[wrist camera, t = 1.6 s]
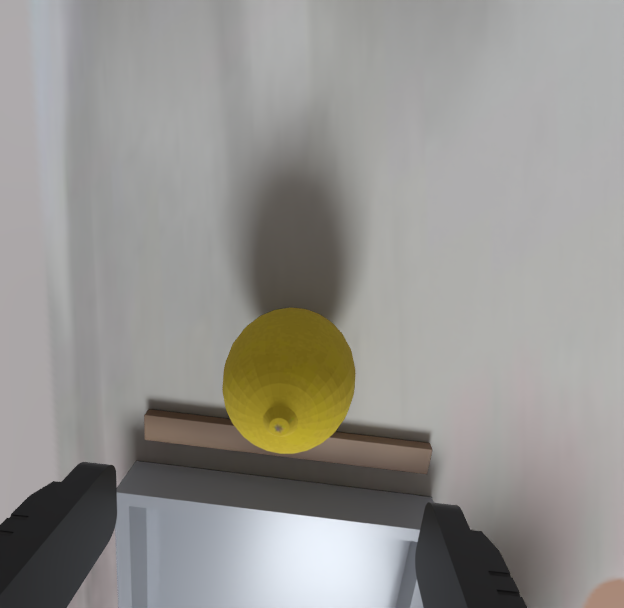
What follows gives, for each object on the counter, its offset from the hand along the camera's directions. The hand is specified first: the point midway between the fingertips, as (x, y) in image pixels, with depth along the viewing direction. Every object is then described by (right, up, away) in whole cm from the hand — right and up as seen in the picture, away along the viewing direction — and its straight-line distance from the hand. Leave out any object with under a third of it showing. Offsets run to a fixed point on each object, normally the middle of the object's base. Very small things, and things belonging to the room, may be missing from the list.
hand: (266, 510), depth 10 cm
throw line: (0, -2, +12) cm, 12 cm away
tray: (-1, -13, +15) cm, 20 cm away
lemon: (0, +3, +11) cm, 11 cm away
